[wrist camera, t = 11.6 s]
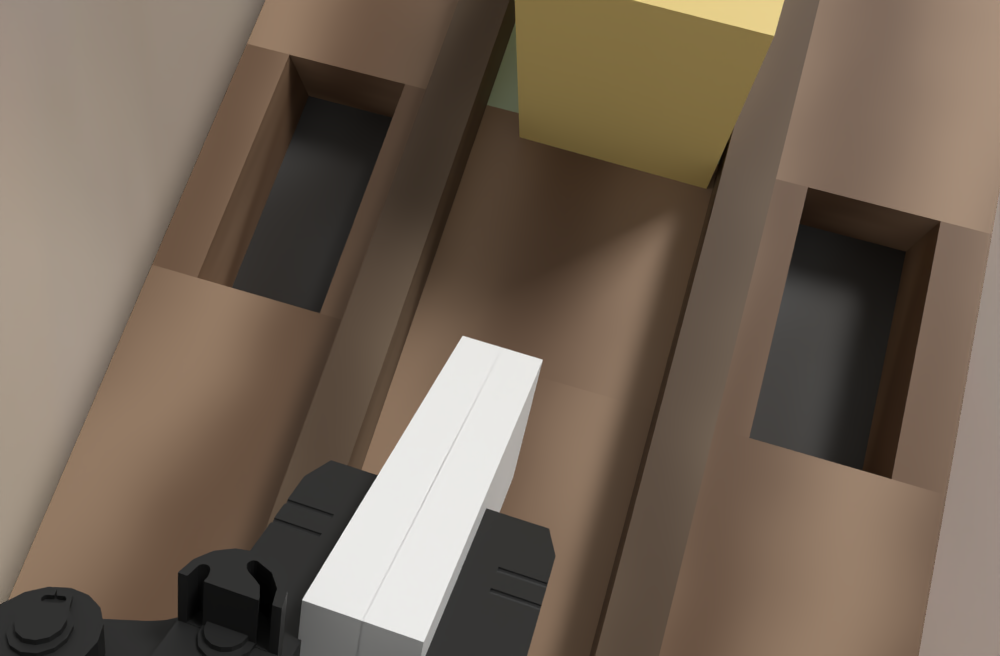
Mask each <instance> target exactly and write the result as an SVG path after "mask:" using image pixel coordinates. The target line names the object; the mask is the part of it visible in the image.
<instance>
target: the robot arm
mask: <svg viewBox="0 0 1000 656" xmlns="http://www.w3.org/2000/svg"><path fill="white" fill-rule="evenodd" d="M542 361H543V360H542V359H539V358H535V357H532V356H529V355H525V354H522V353H519V352H515V351H512V350H509V349H505V348H502V347H499V346H495V345H492V344H489V343H485V342H482V341H479V340H475V339H472V338H469V337H465V336H462V338H461V339H460V341H459V343H458V344H457V346H456V347H455V349H454V351H453V352H452V354H451V356H450V357H449V359H448V361H447V362H446V364H445V366H444V367H443V369H442V371H441V372H440V374H439V375H438V377H437V379H436V380H435V382H434V384H433V385H432V387H431V389H430V390H429V392H428V394H427V395H426V397H425V399H424V400H423V402H422V403H421V405H420V407H419V408H418V410H417V412H416V413H415V415H414V417H413V418H412V420H411V422H410V423H409V425H408V426H407V428H406V430H405V431H404V433H403V435H402V436H401V438H400V440H399V441H398V443H397V445H396V446H395V448H394V450H393V451H392V453H391V454H390V456H389V458H388V459H387V461H386V463H385V464H384V466H383V468H382V469H381V471H380V473H379V474H378V475H375V474H372V473H369V472H366V471H363V470H360V469H357V468H354V467H351V466H348V465H345V464H341V463H338V462H335V461H332V460H330V461H329V462H327V463H325V464H324V465H322V466H320V467H319V468H317V469H315V470H314V471H312V472H310V473H309V474H307V475H305V476H304V477H303V478H302V480H301V481H300V483H299V484H298V485H297V487H296V488H295V490H294V491H293V492H292V494H291V495H290V496H289V498H288V500H287V503H286V504H285V503H284V505H283V506H282V507H281V509H280V510H279V512H278V513H277V514H276V516H275V517H274V520H273V522H272V523H270V524H269V525H268V527H267V528H266V530H265V531H264V532H263V534H262V535H261V536H260V538H259V539H258V541H257V542H256V543H255V545H254V546H253V548H252V549H251V550H250V551H249V550H243V549H237V548H233V549H224V550H215V551H212V552H209V553H207V554H204V555H202V556H199V557H197V558H195V559H193V560H192V561H190V562H189V563H188V564H187V565H186V566H185V567H183V568H182V569H181V570H180V571H179V572H178V617H177V618H172V619H168V620H156V621H140V620H120V619H103V618H102V612H101V608H100V606H99V605H98V604H97V603H96V602H95V601H94V600H93V599H92V598H91V597H90V596H89V595H88V594H85V593H83V592H80V591H78V590H75V589H73V588H66V587H45V588H40V589H35V590H31V591H26V592H24V593H22V594H20V595H18V596H16V597H14V598H12V599H10V600H8V601H6V602H4V603H2V604H1V605H0V656H527V655H528V651H529V648H530V644H531V641H532V637H533V634H534V630H535V627H536V623H537V620H538V616H539V613H540V609H541V606H542V602H543V599H544V595H545V592H546V588H547V585H548V581H549V578H550V574H551V571H552V567H553V564H554V560H555V557H556V556H555V551H554V547H553V543H552V539H551V535H550V530H549V528H546V527H543V526H540V525H537V524H533V523H530V522H527V521H524V520H521V519H518V518H515V517H512V516H509V515H506V514H503V513H500V510H501V507H502V504H503V502H504V499H505V497H506V494H507V492H508V489H509V487H510V484H511V481H512V479H513V476H514V472H515V468H516V464H517V460H518V456H519V452H520V448H521V444H522V440H523V436H524V432H525V429H526V425H527V421H528V417H529V413H530V409H531V405H532V401H533V397H534V393H535V389H536V385H537V381H538V377H539V373H540V369H541V365H542Z"/></svg>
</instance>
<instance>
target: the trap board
mask: <svg viewBox="0 0 1000 656" xmlns="http://www.w3.org/2000/svg"><path fill="white" fill-rule="evenodd" d="M999 190H1000V0H784V3H783V7H782V10H781V14H780V17H779V21H778V25H777V28H776V32H775V35H774V38H773V40H772V42H771V45H770V47H769V49H768V51H767V54H766V56H765V58H764V60H763V63H762V65H761V67H760V69H759V72H758V74H757V76H756V78H755V81H754V83H753V85H752V87H751V90H750V92H749V94H748V97H747V99H746V101H745V103H744V106H743V108H742V110H741V112H740V115H739V117H738V119H737V121H736V124H735V126H734V128H733V130H732V133H731V135H730V137H729V139H728V142H727V144H726V146H725V148H724V151H723V153H722V155H721V157H720V160H719V162H718V164H717V166H716V169H715V171H714V173H713V175H712V178H711V180H710V182H709V184H708V187H707V189H705V188H701V187H698V186H694V185H690V184H687V183H683V182H680V181H676V180H672V179H669V178H665V177H662V176H658V175H654V174H651V173H647V172H643V171H640V170H636V169H633V168H629V167H625V166H622V165H618V164H615V163H611V162H607V161H604V160H600V159H596V158H593V157H589V156H586V155H582V154H578V153H575V152H571V151H568V150H564V149H560V148H557V147H553V146H549V145H546V144H542V143H539V142H535V141H531V140H528V139H524V138H521V137H519V108H518V79H517V51H516V22H515V0H265V3H264V5H263V7H262V10H261V12H260V14H259V17H258V19H257V21H256V24H255V26H254V28H253V31H252V33H251V35H250V38H249V40H248V42H247V45H246V47H245V49H244V52H243V54H242V56H241V59H240V61H239V63H238V66H237V68H236V70H235V73H234V75H233V77H232V80H231V82H230V84H229V87H228V89H227V91H226V94H225V96H224V98H223V101H222V103H221V105H220V108H219V110H218V112H217V115H216V117H215V119H214V122H213V124H212V126H211V129H210V131H209V133H208V136H207V138H206V140H205V143H204V145H203V147H202V150H201V152H200V154H199V157H198V159H197V161H196V164H195V166H194V168H193V171H192V173H191V175H190V178H189V180H188V182H187V184H186V187H185V189H184V191H183V194H182V196H181V198H180V201H179V203H178V205H177V208H176V210H175V212H174V215H173V217H172V219H171V222H170V224H169V226H168V229H167V231H166V233H165V236H164V238H163V240H162V243H161V245H160V247H159V250H158V252H157V254H156V257H155V259H154V261H153V264H152V266H151V268H150V271H149V273H148V275H147V278H146V280H145V282H144V285H143V287H142V289H141V292H140V294H139V296H138V299H137V301H136V303H135V306H134V308H133V310H132V313H131V315H130V317H129V320H128V322H127V324H126V327H125V329H124V331H123V334H122V336H121V338H120V341H119V343H118V345H117V348H116V350H115V352H114V355H113V357H112V359H111V362H110V364H109V366H108V369H107V371H106V373H105V376H104V378H103V380H102V383H101V385H100V387H99V390H98V392H97V394H96V397H95V399H94V401H93V404H92V406H91V408H90V411H89V413H88V415H87V418H86V420H85V422H84V425H83V427H82V429H81V432H80V434H79V436H78V439H77V441H76V443H75V446H74V448H73V450H72V453H71V455H70V457H69V460H68V462H67V464H66V467H65V469H64V471H63V474H62V476H61V478H60V481H59V483H58V485H57V488H56V490H55V492H54V495H53V497H52V499H51V502H50V504H49V506H48V508H47V511H46V513H45V515H44V518H43V520H42V522H41V525H40V527H39V529H38V532H37V534H36V536H35V539H34V541H33V543H32V546H31V548H30V550H29V553H28V555H27V557H26V560H25V562H24V564H23V567H22V569H21V571H20V574H19V576H18V578H17V581H16V583H15V585H14V588H13V590H12V592H11V595H10V597H9V599H8V600H10V599H12V598H14V597H16V596H18V595H20V594H22V593H24V592H26V591H31V590H35V589H40V588H45V587H66V588H73V589H75V590H78V591H80V592H83V593H85V594H88V595H89V596H90V597H91V598H92V599H93V600H94V601H95V602H96V603H97V604H98V605H99V606H100V608H101V612H102V618H103V619H120V620H140V621H156V620H168V619H172V618H177V617H178V572H179V571H180V570H181V569H182V568H183V567H185V566H186V565H187V564H188V563H189V562H190V561H192V560H193V559H195V558H197V557H199V556H202V555H204V554H207V553H209V552H212V551H215V550H224V549H233V548H237V549H243V550H249V551H250V550H251V549H252V548H253V546H254V545H255V543H256V542H257V541H258V539H259V538H260V536H261V535H262V534H263V532H264V531H265V530H266V528H267V527H268V525H269V524H270V523H272V522H273V520H274V517H275V516H276V514H277V513H278V512H279V510H280V509H281V507H282V506H283V505H284V503H285V504H286V503H287V500H288V498H289V496H290V495H291V494H292V492H293V491H294V490H295V488H296V487H297V485H298V484H299V483H300V481H301V480H302V478H303V477H304V476H305V475H307V474H309V473H310V472H312V471H314V470H315V469H317V468H319V467H320V466H322V465H324V464H325V463H327V462H329V461H330V460H332V461H335V462H338V463H341V464H345V465H348V466H351V467H354V468H357V469H360V470H363V471H366V472H369V473H372V474H375V475H378V474H379V473H380V471H381V469H382V468H383V466H384V464H385V463H386V461H387V459H388V458H389V456H390V454H391V453H392V451H393V450H394V448H395V446H396V445H397V443H398V441H399V440H400V438H401V436H402V435H403V433H404V431H405V430H406V428H407V426H408V425H409V423H410V422H411V420H412V418H413V417H414V415H415V413H416V412H417V410H418V408H419V407H420V405H421V403H422V402H423V400H424V399H425V397H426V395H427V394H428V392H429V390H430V389H431V387H432V385H433V384H434V382H435V380H436V379H437V377H438V375H439V374H440V372H441V371H442V369H443V367H444V366H445V364H446V362H447V361H448V359H449V357H450V356H451V354H452V352H453V351H454V349H455V347H456V346H457V344H458V343H459V341H460V339H461V338H462V336H465V337H469V338H472V339H475V340H479V341H482V342H485V343H489V344H492V345H495V346H499V347H502V348H505V349H509V350H512V351H515V352H519V353H522V354H525V355H529V356H532V357H535V358H539V359H542V360H543V361H542V365H541V369H540V373H539V377H538V381H537V385H536V389H535V393H534V397H533V401H532V405H531V409H530V413H529V417H528V421H527V425H526V429H525V432H524V436H523V440H522V444H521V448H520V452H519V456H518V460H517V464H516V468H515V472H514V476H513V479H512V481H511V484H510V487H509V489H508V492H507V494H506V497H505V499H504V502H503V504H502V507H501V510H500V513H503V514H506V515H509V516H512V517H515V518H518V519H521V520H524V521H527V522H530V523H533V524H537V525H540V526H543V527H546V528H549V530H550V535H551V539H552V543H553V547H554V551H555V556H556V557H555V560H554V564H553V567H552V571H551V574H550V578H549V581H548V585H547V588H546V592H545V595H544V599H543V602H542V606H541V609H540V613H539V616H538V620H537V623H536V627H535V630H534V634H533V637H532V641H531V644H530V648H529V651H528V655H527V656H918V655H919V649H920V644H921V638H922V632H923V626H924V621H925V615H926V609H927V603H928V598H929V592H930V586H931V580H932V575H933V569H934V563H935V557H936V552H937V546H938V540H939V535H940V529H941V523H942V517H943V512H944V506H945V500H946V494H947V489H948V483H949V477H950V471H951V466H952V460H953V454H954V448H955V443H956V437H957V431H958V426H959V420H960V414H961V408H962V403H963V397H964V391H965V385H966V380H967V374H968V368H969V362H970V357H971V351H972V345H973V340H974V334H975V328H976V322H977V317H978V311H979V305H980V299H981V294H982V288H983V282H984V276H985V271H986V265H987V259H988V253H989V248H990V242H991V236H992V231H993V225H994V219H995V213H996V208H997V202H998V196H999Z"/></svg>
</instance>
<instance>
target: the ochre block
mask: <svg viewBox="0 0 1000 656" xmlns="http://www.w3.org/2000/svg"><path fill="white" fill-rule="evenodd" d="M783 3H784V0H515V22H516V51H517V79H518V108H519V137H521V138H524V139H528V140H531V141H535V142H539V143H542V144H546V145H549V146H553V147H557V148H560V149H564V150H568V151H571V152H575V153H578V154H582V155H586V156H589V157H593V158H596V159H600V160H604V161H607V162H611V163H615V164H618V165H622V166H625V167H629V168H633V169H636V170H640V171H643V172H647V173H651V174H654V175H658V176H662V177H665V178H669V179H672V180H676V181H680V182H683V183H687V184H690V185H694V186H698V187H701V188H705V189H707V187H708V184H709V182H710V180H711V178H712V175H713V173H714V171H715V169H716V166H717V164H718V162H719V160H720V157H721V155H722V153H723V151H724V148H725V146H726V144H727V142H728V139H729V137H730V135H731V133H732V130H733V128H734V126H735V124H736V121H737V119H738V117H739V115H740V112H741V110H742V108H743V106H744V103H745V101H746V99H747V97H748V94H749V92H750V90H751V87H752V85H753V83H754V81H755V78H756V76H757V74H758V72H759V69H760V67H761V65H762V63H763V60H764V58H765V56H766V54H767V51H768V49H769V47H770V45H771V42H772V40H773V38H774V35H775V32H776V28H777V25H778V21H779V17H780V14H781V10H782V7H783Z"/></svg>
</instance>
